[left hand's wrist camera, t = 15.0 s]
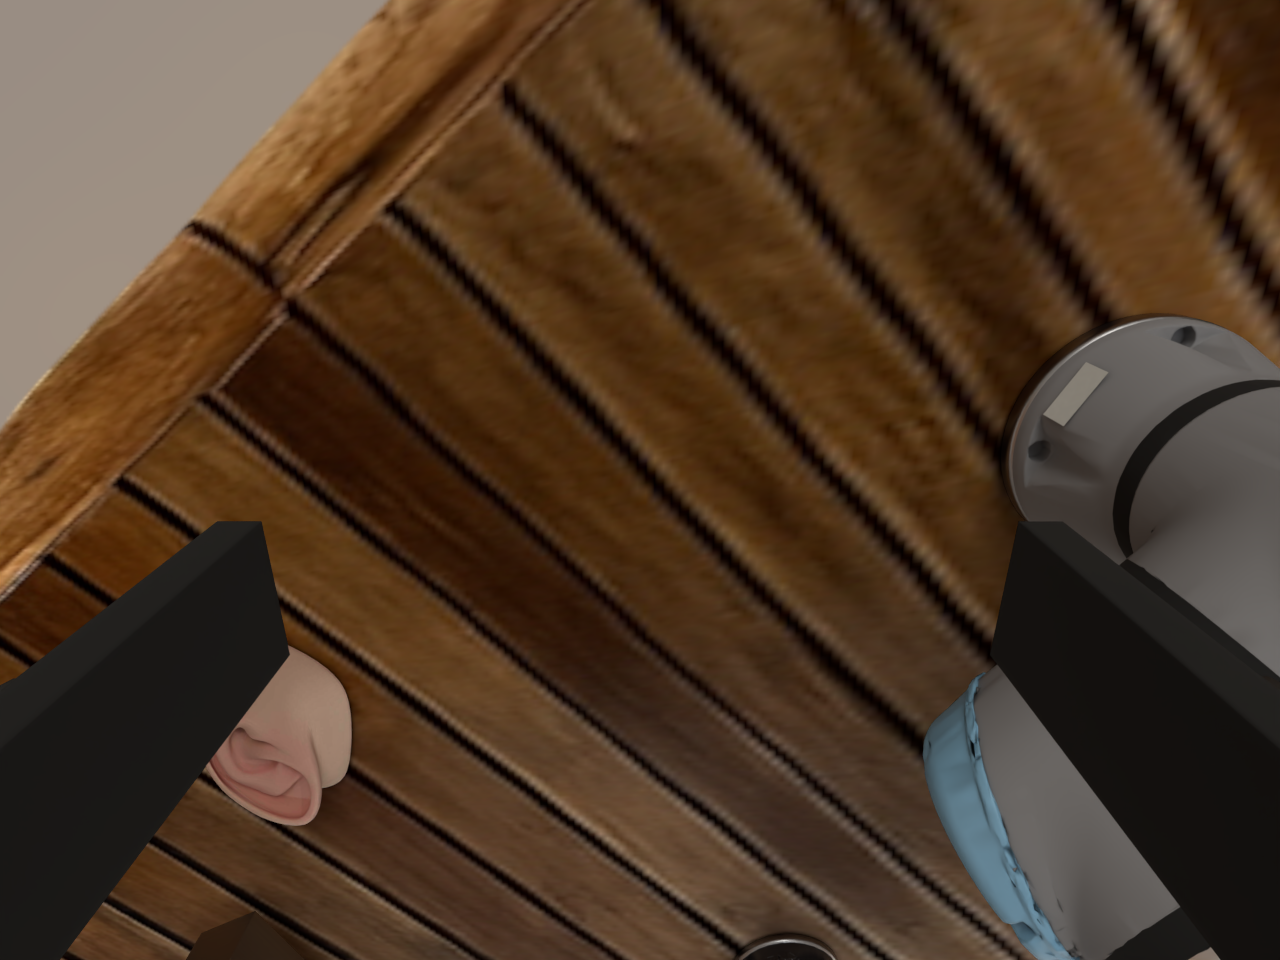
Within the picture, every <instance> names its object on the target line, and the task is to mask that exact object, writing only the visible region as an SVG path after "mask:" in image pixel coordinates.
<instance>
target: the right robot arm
mask: <svg viewBox="0 0 1280 960" xmlns="http://www.w3.org/2000/svg"><path fill="white" fill-rule="evenodd" d="M734 960H837V958H836V956H835V954H834V953H833V951H832V950H831V949H830V948H829V947H828V946H827V945H825V944H824V943H822V942H820V941H819V940H816V939H814V938H811V937H808V936H804V935H797V934H779V935H773V936H768V937H765V938H762V939H759V940H757V941H755V942H753V943H751V944H749V945H748V946H746V947H745V948H744V949H743V950H742V951H741V952H740V953H739V954H738V955H737V956H736V958H735V959H734Z"/></svg>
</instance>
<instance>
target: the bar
mask: <svg viewBox="0 0 1280 960" xmlns="http://www.w3.org/2000/svg"><path fill="white" fill-rule="evenodd" d="M186 960H305V959H304V958H303V957H302V956H301V955H300V954H299V953H298V952H296V951H295V950H294V949H293V948H292V947H291V946H290V945H289V944H288V943H287V942H286V941H285V940H284V939H283V938H282V937H281V936H280V935H279V934H278V933H277V932H276V931H275V930H274V929H273V928H272V927H271V926H270V925H269V924H268V923H267V922H266V921H265V920H264V919H263V918H262V917H261V916H260V915H259V914H258V913H257V912H256V911H255V912H252V913H250V914H247V915H245V916H242V917H240V918H237V919H235V920H233V921H230V922H228V923H225V924H223V925H220V926H218V927H215V928H213V929H210V930H208V931H206V932H203V933H201V935H200V937H199V938H198V940H197V942H196V943H195V945H194V947H193V949H192V950H191V952H190V954H189V955H188V957H187V959H186Z"/></svg>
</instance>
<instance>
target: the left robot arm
mask: <svg viewBox="0 0 1280 960" xmlns="http://www.w3.org/2000/svg"><path fill="white" fill-rule="evenodd" d="M1001 470H1002V476H1003V482H1004V485H1005V488H1006V491H1007V494H1008V496H1009V498H1010V500H1011V502H1012V504H1013V505H1014V507H1015V509H1016V510H1017V511H1018V513H1019V514H1020V515H1021V517H1022V518H1023V519H1024V520H1025V521H1019V522H1018V526H1017V531H1016V536H1015V540H1014V545H1013V550H1012V554H1011V559H1010V564H1009V568H1008V573H1007V578H1006V582H1005V587H1004V592H1003V596H1002V601H1001V606H1000V610H999V615H998V620H997V624H996V629H995V634H994V638H993V643H992V648H991V652H990V656H991V657H992V658H993V660H994V661H995V662H996V663H997V665H996V666H995V667H993V668H992V669H991V670H989V671H988V672H987V673H985V672H983V673H981V674H980V675H978V676H977V677H976V678H974V679H973V680H972V681H971V683H970V685H969V687H968V689H967V690H966V691H965V692H964V693H963V694H962V695H961V696H960V697H959V698H958V699H957V700H956V701H955V702H954V703H953V704H952V705H951V706H949V707H948V708H947V709H946V710H945V711H944V712H943V713H942V714H941V715H940V716H938V717H937V718H936V719H935V720H934V722H933V723H932V724H931V726H930V727H929V729H928V731H927V733H926V736H925V740H924V746H923V747H924V750H923V759H924V764H925V766H924V769H925V777H926V781H927V785H928V788H929V792H930V795H931V798H932V801H933V803H934V806H935V809H936V811H937V813H938V816H939V818H940V820H941V823H942V825H943V827H944V829H945V831H946V833H947V835H948V837H949V839H950V841H951V843H952V845H953V847H954V849H955V851H956V853H957V854H958V856H959V858H960V860H961V861H962V863H963V865H964V866H965V868H966V870H967V872H968V873H969V875H970V876H971V878H972V880H973V881H974V883H975V884H976V886H977V887H978V889H979V890H980V892H981V893H982V895H983V896H984V898H985V899H986V901H987V902H988V903H989V905H990V906H991V908H992V909H993V910H994V912H995V913H996V914H997V915H998V916H999V918H1000V919H1001V920H1002V921H1003V922H1005V923H1008V924H1011V926H1012V928H1013V929H1014V931H1015V933H1016V935H1017V937H1018V939H1019V940H1020V942H1021V943H1022V945H1023V946H1024V947H1025V948H1026V949H1027V950H1028V951H1029V952H1030V953H1032V954H1033V955H1034V956H1035V957H1036V958H1037V959H1038V960H1280V369H1279V368H1278V367H1277V366H1276V365H1274V364H1273V363H1272V362H1271V361H1270V360H1269V359H1268V358H1266V357H1265V356H1264V355H1263V354H1262V353H1261V352H1259V351H1258V350H1257V349H1256V348H1255V347H1254V346H1253V345H1251V344H1250V343H1249V342H1248V341H1246V340H1245V339H1243V338H1242V337H1240V336H1238V335H1237V334H1235V333H1233V332H1231V331H1229V330H1227V329H1225V328H1223V327H1221V326H1219V325H1216V324H1214V323H1211V322H1207V321H1203V320H1199V319H1195V318H1191V317H1186V316H1181V315H1175V314H1163V313H1155V314H1142V315H1135V316H1130V317H1125V318H1121V319H1118V320H1115V321H1112V322H1109V323H1106V324H1103V325H1101V326H1099V327H1096V328H1094V329H1092V330H1090V331H1088V332H1086V333H1084V334H1083V335H1081V336H1079V337H1078V338H1076V339H1074V340H1073V341H1071V342H1070V343H1068V344H1067V345H1066V346H1064V347H1063V348H1062V349H1060V350H1059V351H1058V352H1057V353H1055V354H1054V355H1053V356H1052V357H1051V358H1050V359H1049V360H1047V361H1046V363H1045V364H1044V365H1043V366H1042V367H1041V368H1040V369H1039V370H1038V371H1037V372H1036V373H1035V375H1034V376H1033V377H1032V378H1031V379H1030V381H1029V382H1028V383H1027V385H1026V386H1025V388H1024V389H1023V391H1022V392H1021V394H1020V396H1019V397H1018V399H1017V401H1016V403H1015V405H1014V407H1013V409H1012V411H1011V414H1010V416H1009V419H1008V422H1007V424H1006V428H1005V432H1004V436H1003V441H1002V448H1001ZM289 656H290V652H289V648H288V643H287V638H286V634H285V629H284V624H283V620H282V615H281V610H280V606H279V601H278V596H277V592H276V587H275V582H274V578H273V573H272V568H271V564H270V559H269V554H268V550H267V545H266V540H265V536H264V531H263V526H262V522H261V521H217V522H216V523H215V524H213V525H212V526H211V527H209V528H208V529H207V530H206V531H204V532H203V533H202V534H201V535H199V536H198V537H197V538H195V539H194V540H193V541H192V542H190V543H189V544H188V545H186V546H185V547H184V548H183V549H181V550H180V551H179V552H177V553H176V554H175V555H174V556H172V557H171V558H170V559H168V560H167V561H166V562H165V563H163V564H162V565H161V566H159V567H158V568H157V569H156V570H154V571H153V572H152V573H151V574H149V575H148V576H147V577H145V578H144V579H143V580H142V581H140V582H139V583H138V584H136V585H135V586H134V587H133V588H131V589H130V590H129V591H127V592H126V593H125V594H124V595H122V596H121V597H120V598H118V599H117V600H116V601H115V602H113V603H112V604H111V605H110V606H108V607H107V608H106V609H104V610H103V611H102V612H101V613H99V614H98V615H97V616H95V617H94V618H93V619H92V620H90V621H89V622H88V623H86V624H85V625H84V626H83V627H81V628H80V629H79V630H77V631H76V632H75V633H74V634H72V635H71V636H70V637H68V638H67V639H66V640H65V641H63V642H62V643H61V644H60V645H58V646H57V647H56V648H54V649H53V650H52V651H51V652H49V653H48V654H47V655H45V656H44V657H43V658H42V659H40V660H39V661H38V662H36V663H35V664H34V665H33V666H31V667H30V668H29V669H27V670H26V671H25V672H24V673H22V674H21V675H20V676H19V677H17V678H16V679H12V680H10V681H8V682H6V683H4V684H2V685H0V960H60V959H61V957H62V956H63V955H64V953H65V952H66V951H67V949H68V948H69V947H70V945H71V944H72V943H73V941H74V940H75V939H76V938H77V936H78V935H79V934H80V932H81V931H82V930H83V928H84V927H85V926H86V924H87V923H88V922H89V920H90V919H91V918H92V916H93V915H94V914H95V912H96V911H97V910H98V908H99V907H100V906H101V904H102V903H103V902H104V900H105V899H106V898H107V896H108V895H109V894H110V893H111V891H112V890H113V889H114V887H115V886H116V885H117V883H118V882H119V881H120V879H121V878H122V877H123V875H124V874H125V873H126V871H127V870H128V869H129V867H130V866H131V865H132V863H133V862H134V861H135V859H136V858H137V857H138V855H139V854H140V853H141V851H142V850H143V849H144V847H145V846H146V845H147V844H148V842H149V841H150V840H151V838H152V837H153V836H154V834H155V833H156V832H157V830H158V829H159V828H160V826H161V825H162V824H163V822H164V821H165V820H166V818H167V817H168V816H169V814H170V813H171V812H172V810H173V809H174V808H175V806H176V805H177V804H178V802H179V801H180V800H181V799H182V797H183V796H184V795H185V793H186V792H187V791H188V789H189V788H190V787H191V785H192V784H193V783H194V781H195V780H196V779H197V777H198V776H199V775H200V773H201V772H202V771H203V769H204V768H205V767H206V765H207V764H208V763H209V761H210V760H211V759H212V757H213V756H214V755H215V754H216V752H217V751H218V750H219V748H220V747H221V746H222V744H223V743H224V742H225V740H226V739H227V738H228V736H229V735H230V734H231V732H232V731H233V730H234V728H235V727H236V726H237V724H238V723H239V722H240V720H241V719H242V718H243V716H244V715H245V714H246V712H247V711H248V710H249V708H250V707H251V706H252V705H253V703H254V702H255V701H256V699H257V698H258V697H259V695H260V694H261V693H262V691H263V690H264V689H265V687H266V686H267V685H268V683H269V682H270V681H271V679H272V678H273V677H274V675H275V674H276V673H277V671H278V670H279V669H280V667H281V666H282V665H283V663H284V662H285V661H286V660H287V658H288V657H289Z"/></svg>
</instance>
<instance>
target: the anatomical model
mask: <svg viewBox="0 0 1280 960" xmlns="http://www.w3.org/2000/svg"><path fill="white" fill-rule="evenodd" d="M288 648H289V652H290V656H289V657H288V658H287V660H286V661H285V662H284V663H283V665H282V666H281V667H280V669H279V670H278V671H277V673H276V674H275V675H274V677H273V678H272V679H271V681H270V682H269V683H268V685H267V686H266V687H265V689H264V690H263V691H262V693H261V694H260V695H259V697H258V698H257V699H256V701H255V702H254V703H253V705H252V706H251V707H250V708H249V710H248V711H247V712H246V714H245V715H244V716H243V718H242V719H241V720H240V722H239V723H238V724H237V726H236V727H235V728H234V730H233V731H232V732H231V734H230V735H229V736H228V738H227V739H226V740H225V742H224V743H223V744H222V746H221V747H220V748H219V750H218V751H217V752H216V754H215V755H214V756H213V757H212V759H211V760H210V761H209V763H208V764H207V765H206V768H207V770H208V772H209V773H210V775H211V776H212V778H213V779H214V781H215V782H216V783H217V784H218V785H219V787H220V788H221V789H222V790H223V791H224V792H225V793H226V794H227V795H228V796H229V797H230V798H232V799H233V800H234V801H236V802H237V803H238V804H240V805H241V806H243V807H244V808H246V809H248V810H249V811H251V812H252V813H254V814H256V815H258V816H260V817H262V818H265V819H268V820H270V821H273V822H276V823H280V824H285V825H293V826H297V825H304V824H307V823H309V822H310V821H311V820H313V819H314V817H315V816H316V814H317V812H318V810H319V807H320V803H321V796H322V788H326V787H329V786H332V785H335V784H336V783H338V782H339V781H341V780H342V778H343V777H344V776H345V774H346V772H347V769H348V765H349V761H350V753H351V739H352V731H351V713H350V707H349V701H348V698H347V695H346V692H345V690H344V688H343V686H342V684H341V683H340V681H339V680H338V679H337V678H336V677H335V676H334V674H333V673H331V672H330V671H329V670H328V669H327V668H326V667H324V666H323V665H321V664H320V663H319V662H317V661H316V660H314V659H313V658H311V657H309V656H308V655H306V654H304V653H302V652H300V651H299V650H297V649H295V648H293V647H291V646H289V645H288Z"/></svg>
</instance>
